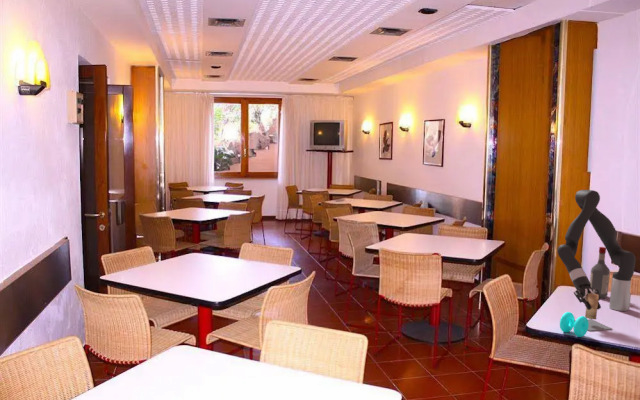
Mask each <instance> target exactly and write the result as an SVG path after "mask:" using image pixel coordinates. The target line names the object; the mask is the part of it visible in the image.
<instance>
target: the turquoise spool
mask: <svg viewBox="0 0 640 400" xmlns="http://www.w3.org/2000/svg"><path fill="white" fill-rule="evenodd" d="M588 319H589V318H586V317H585V315H584V316H583V315H581V316H578V317H577V318H575V316H574V313H573V312H570V311H565V312H564V313H563V314H562V315H561V318H560V321H559V328H560V330H561V331H562V332H563V333H570V331H572V330H573V333H574V335H575V336H576V337H577V338H583V337H584V336H585V335H586V334H587V333H588V331H587V330H588V326H589V323H588ZM575 320H576V321H575Z"/></svg>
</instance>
